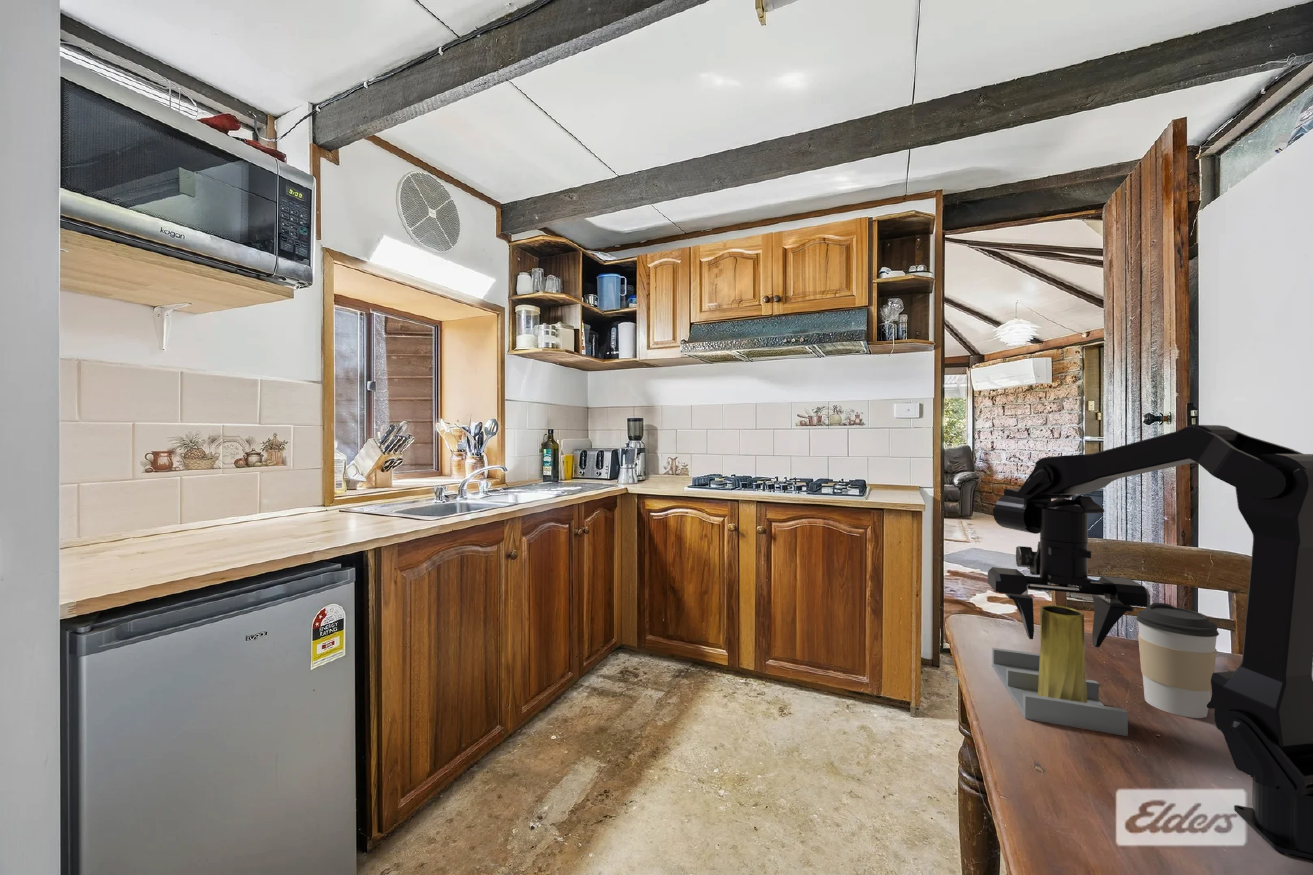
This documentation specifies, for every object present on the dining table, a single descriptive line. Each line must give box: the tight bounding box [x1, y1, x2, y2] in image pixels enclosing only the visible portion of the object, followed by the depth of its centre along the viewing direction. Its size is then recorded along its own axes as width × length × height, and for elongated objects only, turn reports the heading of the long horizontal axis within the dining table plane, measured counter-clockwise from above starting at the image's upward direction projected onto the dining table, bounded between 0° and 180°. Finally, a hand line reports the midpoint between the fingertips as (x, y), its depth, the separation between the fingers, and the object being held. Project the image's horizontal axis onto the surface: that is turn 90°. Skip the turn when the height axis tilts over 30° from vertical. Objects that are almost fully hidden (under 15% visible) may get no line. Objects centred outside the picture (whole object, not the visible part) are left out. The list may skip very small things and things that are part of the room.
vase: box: [1037, 604, 1087, 703], centre depth 79 cm, size 6×6×14 cm
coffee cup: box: [1135, 602, 1220, 719], centre depth 80 cm, size 9×9×15 cm
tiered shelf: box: [991, 647, 1129, 737], centre depth 83 cm, size 19×12×3 cm, turn 159°
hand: (1062, 642), depth 79 cm, fingers open, 8 cm apart
